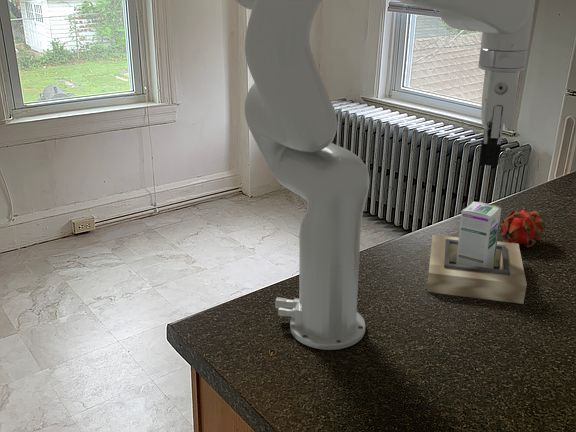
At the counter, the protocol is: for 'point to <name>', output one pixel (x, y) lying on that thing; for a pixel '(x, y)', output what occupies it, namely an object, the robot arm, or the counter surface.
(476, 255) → the syrup box
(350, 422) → the counter surface
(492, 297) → the socket block
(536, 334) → the counter surface
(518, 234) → the dragon fruit
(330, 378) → the counter surface
